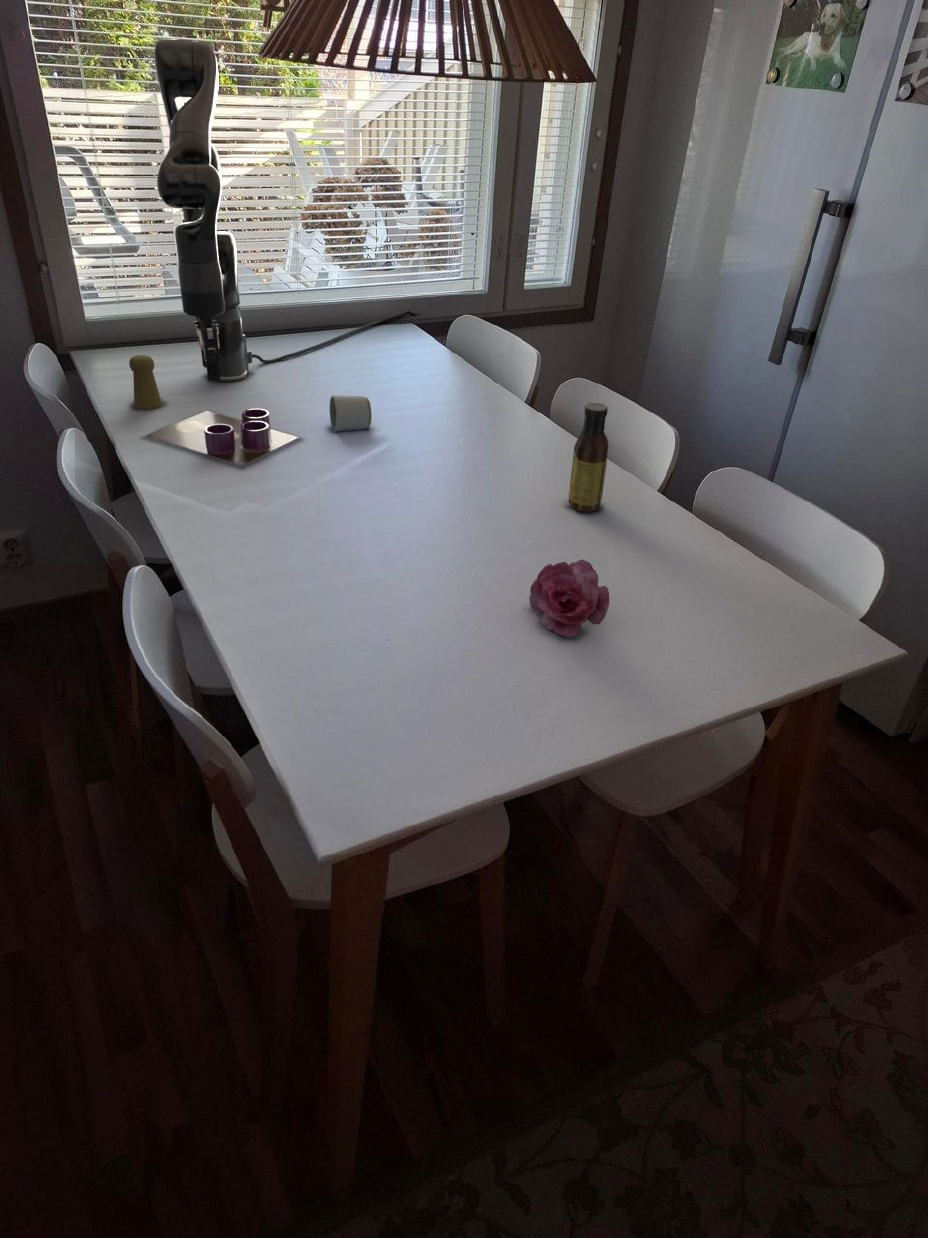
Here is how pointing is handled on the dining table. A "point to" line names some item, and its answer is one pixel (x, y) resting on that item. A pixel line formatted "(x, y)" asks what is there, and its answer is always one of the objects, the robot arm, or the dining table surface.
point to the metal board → (193, 438)
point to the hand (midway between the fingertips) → (211, 373)
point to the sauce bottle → (589, 461)
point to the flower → (569, 597)
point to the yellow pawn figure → (144, 383)
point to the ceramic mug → (350, 412)
